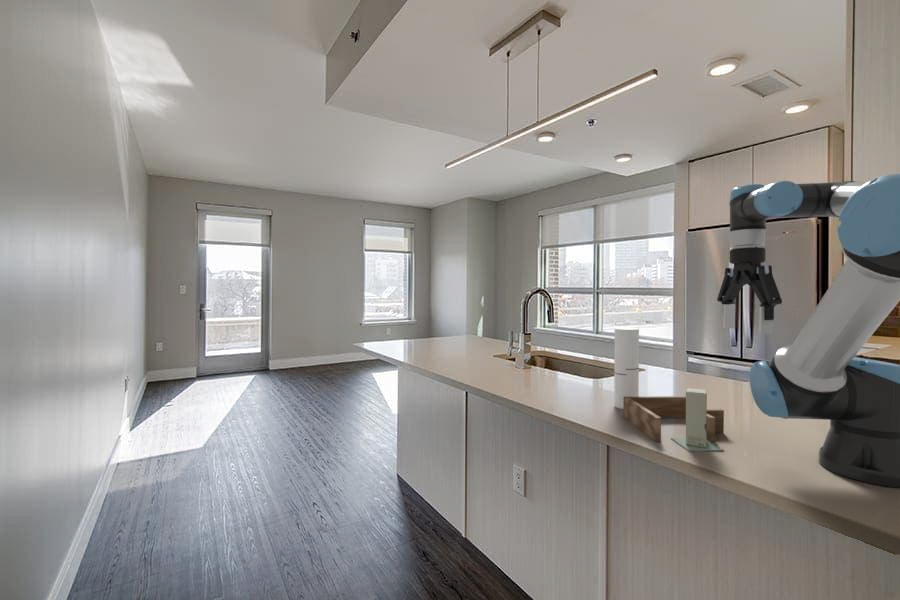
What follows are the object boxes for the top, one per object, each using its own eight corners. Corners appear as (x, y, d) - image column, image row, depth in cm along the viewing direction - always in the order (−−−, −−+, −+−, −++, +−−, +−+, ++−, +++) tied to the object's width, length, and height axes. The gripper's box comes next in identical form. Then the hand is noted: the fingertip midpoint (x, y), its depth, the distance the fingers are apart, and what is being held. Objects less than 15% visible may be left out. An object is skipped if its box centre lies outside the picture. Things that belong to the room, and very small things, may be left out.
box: (706, 448, 99) (707, 394, 99) (685, 445, 101) (685, 391, 101) (706, 441, 104) (707, 389, 103) (686, 438, 106) (686, 387, 106)
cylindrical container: (641, 410, 131) (641, 329, 130) (616, 409, 133) (616, 329, 132) (635, 403, 138) (636, 327, 137) (612, 402, 140) (612, 327, 139)
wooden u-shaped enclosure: (738, 441, 104) (738, 417, 104) (656, 441, 105) (656, 417, 104) (692, 416, 124) (692, 396, 124) (623, 416, 125) (623, 396, 125)
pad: (723, 451, 98) (723, 449, 98) (688, 451, 98) (688, 449, 98) (703, 438, 106) (703, 437, 106) (671, 438, 106) (671, 437, 106)
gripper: (802, 242, 95) (800, 336, 96) (730, 251, 120) (729, 326, 121) (768, 242, 95) (767, 336, 96) (703, 252, 120) (702, 326, 121)
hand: (746, 331), depth 108 cm, fingers open, 13 cm apart
